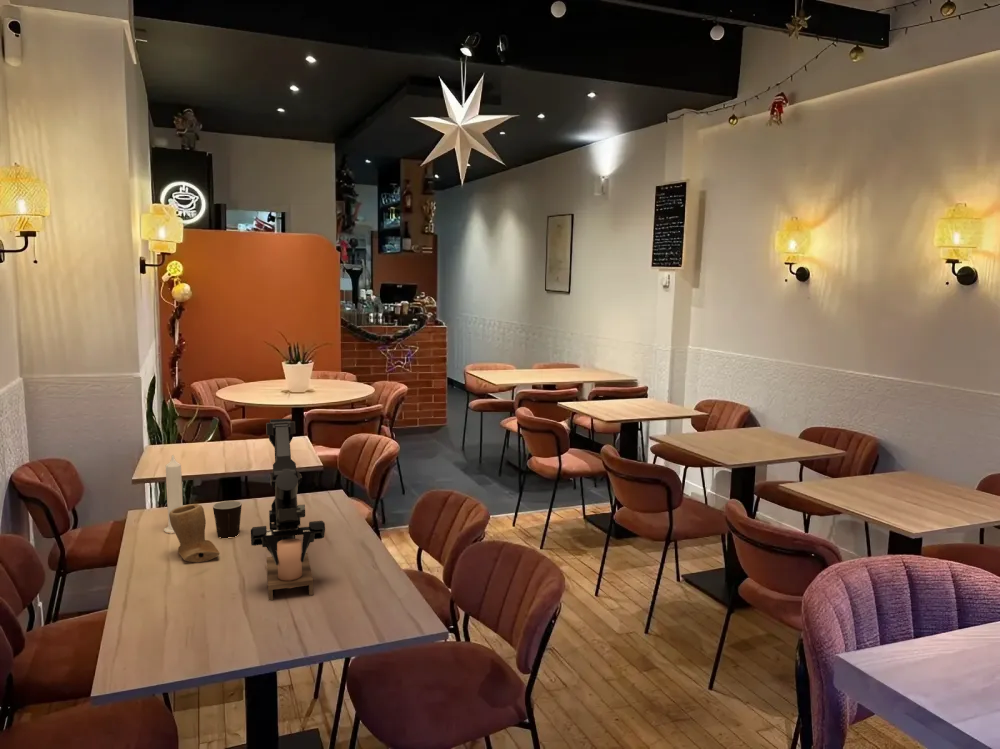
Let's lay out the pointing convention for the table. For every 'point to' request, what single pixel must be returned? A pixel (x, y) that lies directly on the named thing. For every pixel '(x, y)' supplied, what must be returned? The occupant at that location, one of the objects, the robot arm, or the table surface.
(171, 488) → the candle
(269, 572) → the walnut keyhole board
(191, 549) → the stone cup
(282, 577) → the terracotta peg
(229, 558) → the table surface
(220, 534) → the coffee mug
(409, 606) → the table surface
